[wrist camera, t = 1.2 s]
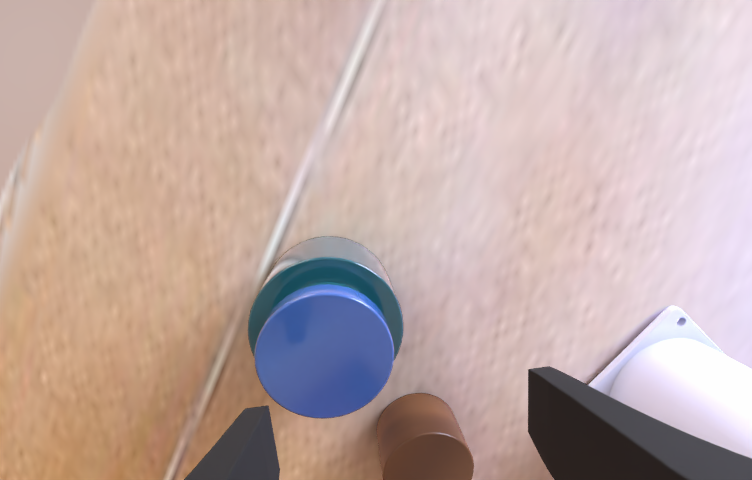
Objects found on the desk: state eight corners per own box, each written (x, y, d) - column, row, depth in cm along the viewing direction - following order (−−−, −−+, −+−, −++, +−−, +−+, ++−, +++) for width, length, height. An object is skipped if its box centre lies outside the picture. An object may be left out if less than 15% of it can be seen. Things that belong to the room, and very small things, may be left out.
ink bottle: (415, 288, 20) (448, 345, 14) (336, 374, 20) (336, 464, 15) (321, 209, 18) (313, 236, 12) (239, 304, 19) (194, 372, 13)
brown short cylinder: (470, 421, 22) (492, 464, 19) (417, 474, 22) (430, 526, 19) (413, 377, 21) (427, 416, 18) (359, 434, 21) (363, 482, 18)
